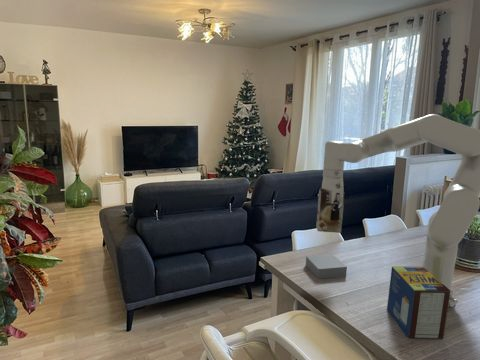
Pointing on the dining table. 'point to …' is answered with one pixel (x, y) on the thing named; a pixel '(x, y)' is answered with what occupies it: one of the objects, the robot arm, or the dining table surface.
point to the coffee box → (327, 214)
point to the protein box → (418, 302)
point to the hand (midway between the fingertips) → (329, 216)
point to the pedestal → (326, 266)
